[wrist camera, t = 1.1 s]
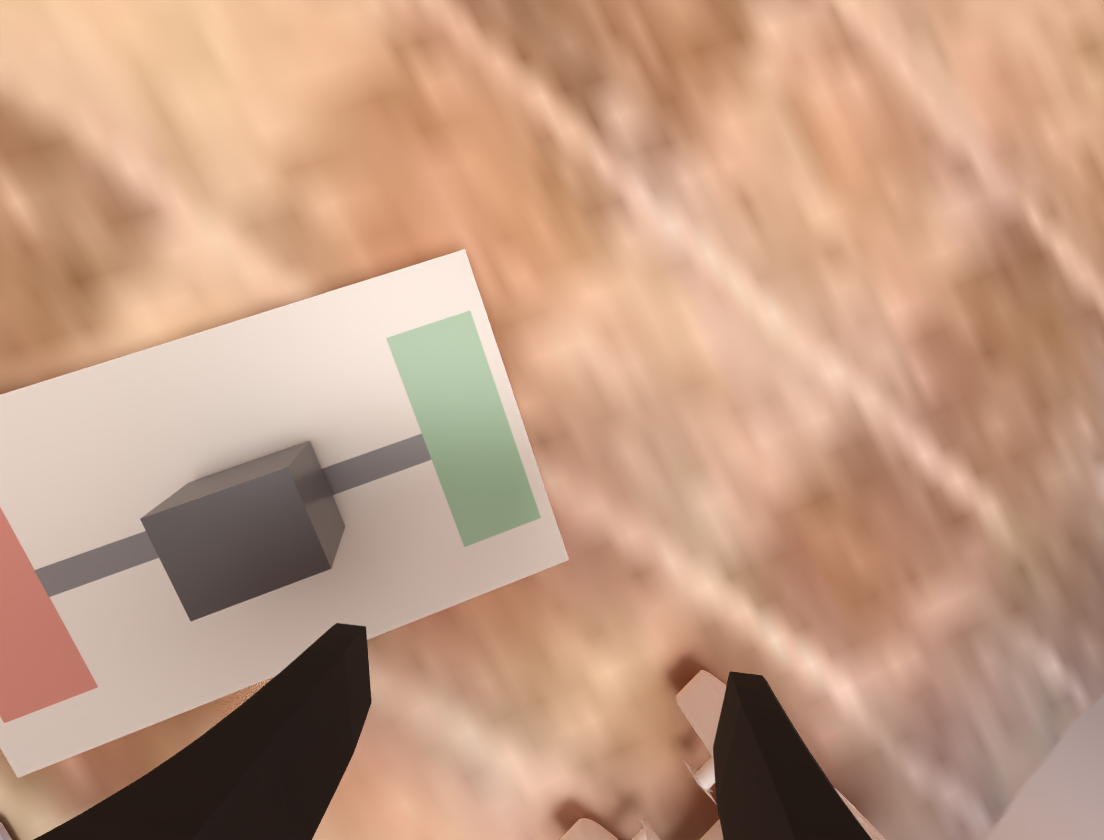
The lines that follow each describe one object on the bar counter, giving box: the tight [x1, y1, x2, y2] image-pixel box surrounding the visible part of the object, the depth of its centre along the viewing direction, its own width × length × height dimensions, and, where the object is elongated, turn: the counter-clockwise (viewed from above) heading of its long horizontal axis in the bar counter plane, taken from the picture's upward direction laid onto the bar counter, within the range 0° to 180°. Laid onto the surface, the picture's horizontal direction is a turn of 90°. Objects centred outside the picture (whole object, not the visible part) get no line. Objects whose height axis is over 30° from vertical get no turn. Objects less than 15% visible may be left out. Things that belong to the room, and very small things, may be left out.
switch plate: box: [0, 249, 569, 778], centre depth 23 cm, size 20×12×2 cm, turn 108°
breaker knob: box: [140, 441, 345, 621], centre depth 20 cm, size 4×3×4 cm
